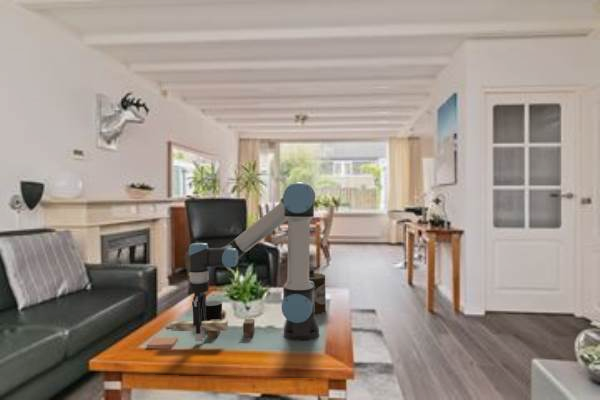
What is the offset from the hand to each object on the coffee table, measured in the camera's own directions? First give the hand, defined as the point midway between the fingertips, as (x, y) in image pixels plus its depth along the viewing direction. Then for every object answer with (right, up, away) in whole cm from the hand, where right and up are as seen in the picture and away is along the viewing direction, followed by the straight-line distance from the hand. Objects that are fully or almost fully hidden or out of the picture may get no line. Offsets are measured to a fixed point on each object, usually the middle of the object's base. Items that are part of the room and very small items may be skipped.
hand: (200, 339), depth 163 cm
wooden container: (+46, -1, +45) cm, 64 cm away
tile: (-10, -2, 0) cm, 10 cm away
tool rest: (+11, -2, +10) cm, 15 cm away
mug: (-1, -2, +26) cm, 26 cm away
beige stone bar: (0, +4, 0) cm, 4 cm away
